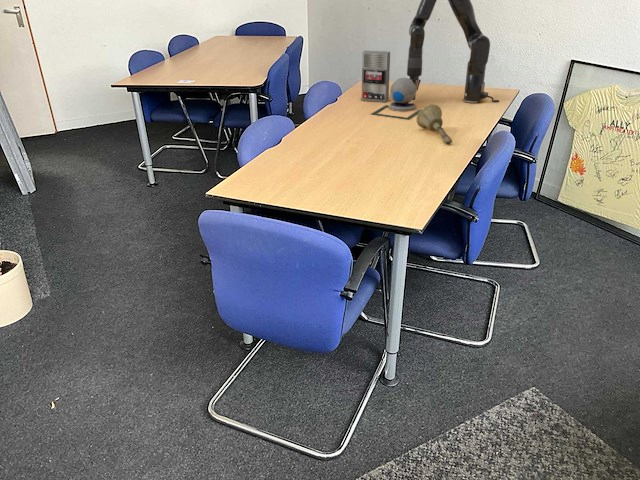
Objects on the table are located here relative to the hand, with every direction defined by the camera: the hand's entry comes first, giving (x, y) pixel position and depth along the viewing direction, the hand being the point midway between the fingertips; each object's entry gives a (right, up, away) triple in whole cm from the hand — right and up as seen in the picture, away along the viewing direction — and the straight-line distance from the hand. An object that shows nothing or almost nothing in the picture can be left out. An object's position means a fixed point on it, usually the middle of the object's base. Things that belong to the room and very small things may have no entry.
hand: (412, 99), depth 281 cm
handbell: (+4, -29, -47) cm, 56 cm away
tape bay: (-10, -10, -14) cm, 20 cm away
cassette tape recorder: (-19, +1, +7) cm, 21 cm away
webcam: (-7, -6, -7) cm, 12 cm away
